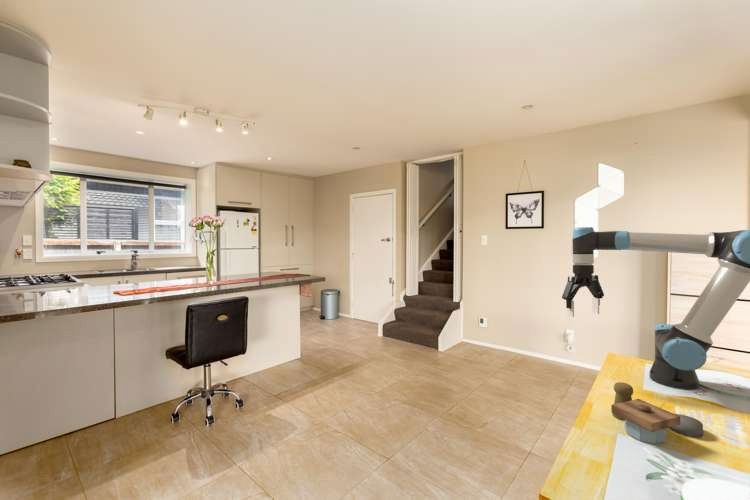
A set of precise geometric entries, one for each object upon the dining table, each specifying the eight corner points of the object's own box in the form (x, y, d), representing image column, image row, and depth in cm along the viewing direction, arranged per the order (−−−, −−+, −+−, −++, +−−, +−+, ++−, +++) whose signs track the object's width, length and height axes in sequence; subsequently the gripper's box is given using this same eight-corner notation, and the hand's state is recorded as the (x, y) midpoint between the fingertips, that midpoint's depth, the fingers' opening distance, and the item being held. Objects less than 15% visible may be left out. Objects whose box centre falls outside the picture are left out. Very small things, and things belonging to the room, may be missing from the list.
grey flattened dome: (678, 421, 108) (678, 411, 108) (709, 434, 101) (709, 424, 100) (660, 425, 106) (660, 416, 106) (691, 439, 98) (691, 429, 98)
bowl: (639, 424, 107) (639, 409, 106) (672, 440, 98) (672, 423, 98) (618, 430, 104) (618, 413, 104) (649, 446, 95) (649, 429, 95)
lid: (638, 406, 108) (638, 395, 108) (680, 424, 97) (680, 412, 97) (611, 412, 105) (611, 401, 105) (651, 432, 94) (651, 419, 94)
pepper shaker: (639, 422, 108) (639, 388, 108) (617, 420, 109) (617, 387, 109) (628, 413, 114) (628, 380, 114) (608, 411, 115) (608, 379, 115)
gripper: (597, 262, 149) (597, 310, 150) (552, 264, 142) (552, 315, 142) (614, 263, 142) (614, 314, 143) (567, 266, 135) (567, 319, 135)
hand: (583, 314), depth 143 cm, fingers open, 13 cm apart
